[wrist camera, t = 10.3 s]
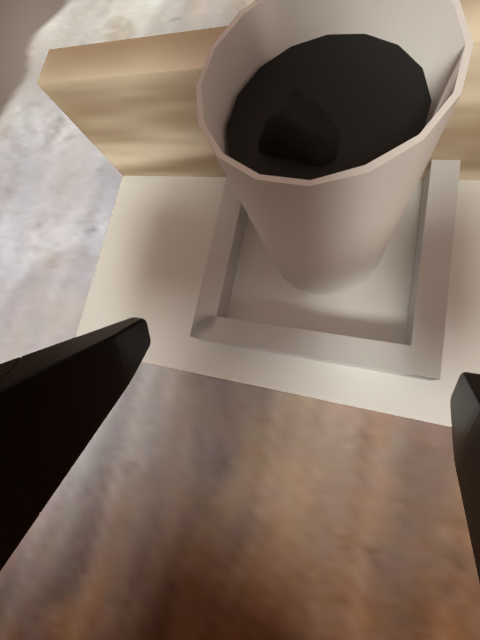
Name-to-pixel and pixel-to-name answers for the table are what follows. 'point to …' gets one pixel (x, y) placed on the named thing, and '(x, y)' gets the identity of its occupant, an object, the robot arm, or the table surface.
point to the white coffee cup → (331, 123)
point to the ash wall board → (195, 102)
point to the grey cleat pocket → (297, 296)
